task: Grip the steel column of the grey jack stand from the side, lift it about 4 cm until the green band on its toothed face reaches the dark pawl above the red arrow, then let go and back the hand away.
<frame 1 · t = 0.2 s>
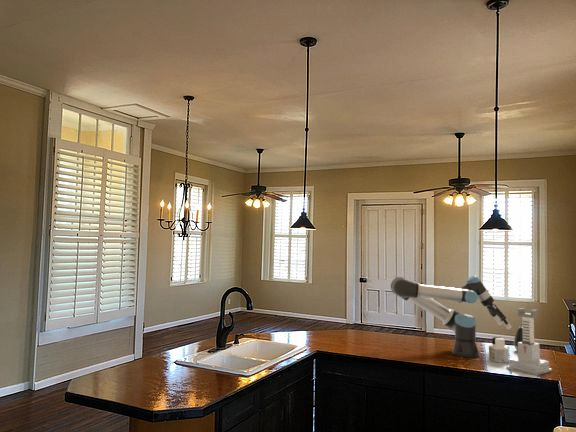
hand: (505, 326, 287), 15 cm above the worktop, tool tilted 35°, fingers open, 13 cm apart
jack stand base: (529, 369, 244), on the worktop
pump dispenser: (523, 351, 286), on the worktop
jack stand column: (528, 337, 245), point 17 cm above the worktop, slide at 0.0 cm
container: (498, 360, 263), on the worktop
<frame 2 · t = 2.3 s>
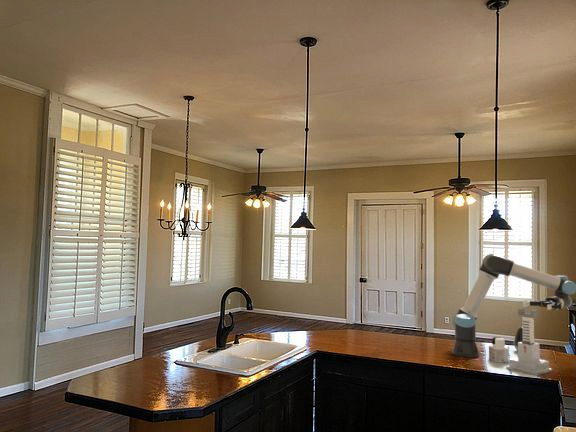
hand: (535, 305, 257), 32 cm above the worktop, tool horizontal, fingers open, 13 cm apart
nothing on the worktop moved.
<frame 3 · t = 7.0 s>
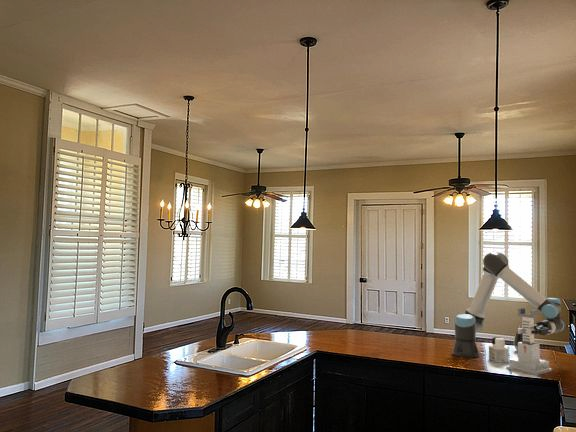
hand: (522, 331, 242), 20 cm above the worktop, tool horizontal, fingers closed on jack stand column, 4 cm apart
jack stand column: (528, 337, 245), point 17 cm above the worktop, slide at 0.0 cm, touching gripper
everything else where it was.
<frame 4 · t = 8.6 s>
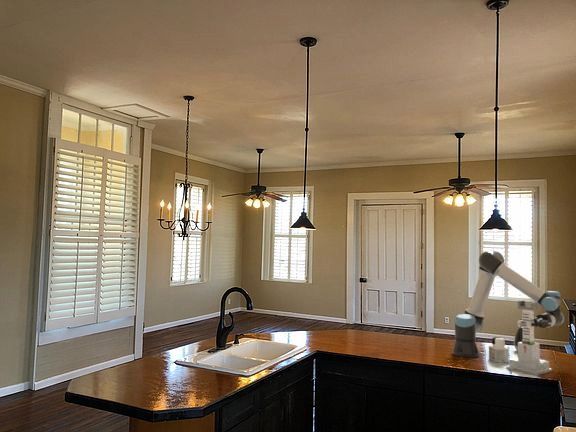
hand: (522, 324, 242), 24 cm above the worktop, tool horizontal, fingers closed on jack stand column, 4 cm apart
jack stand column: (528, 330, 245), point 21 cm above the worktop, slide at 3.9 cm, touching gripper
everything else where it was.
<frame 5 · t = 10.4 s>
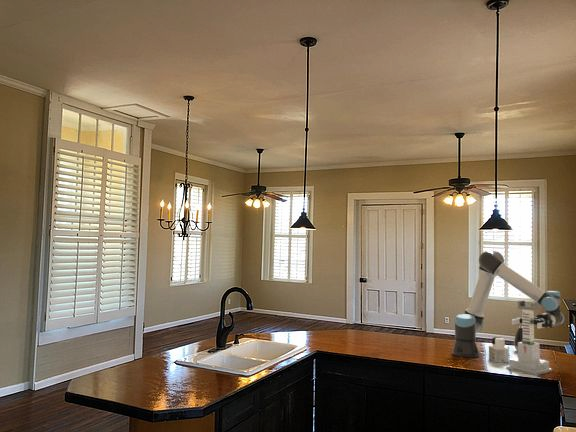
hand: (524, 323, 244), 24 cm above the worktop, tool horizontal, fingers open, 13 cm apart
jack stand column: (528, 330, 245), point 21 cm above the worktop, slide at 4.0 cm
everything else where it was.
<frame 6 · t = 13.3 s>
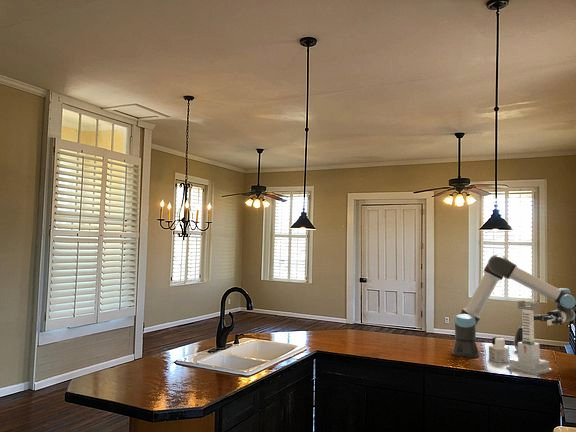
hand: (535, 321, 252), 25 cm above the worktop, tool horizontal, fingers open, 13 cm apart
nothing on the worktop moved.
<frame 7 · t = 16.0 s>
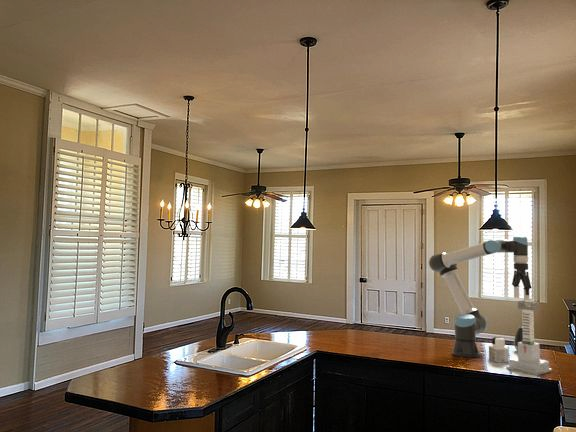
hand: (521, 299, 268), 35 cm above the worktop, tool pointing down, fingers open, 13 cm apart
nothing on the worktop moved.
at the end: jack stand column slide at 4.0 cm; the gripper is holding nothing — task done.
